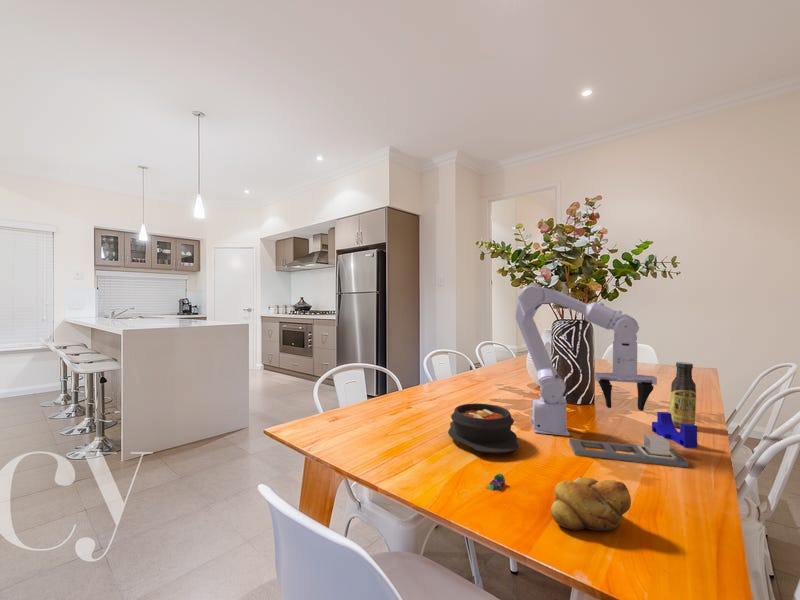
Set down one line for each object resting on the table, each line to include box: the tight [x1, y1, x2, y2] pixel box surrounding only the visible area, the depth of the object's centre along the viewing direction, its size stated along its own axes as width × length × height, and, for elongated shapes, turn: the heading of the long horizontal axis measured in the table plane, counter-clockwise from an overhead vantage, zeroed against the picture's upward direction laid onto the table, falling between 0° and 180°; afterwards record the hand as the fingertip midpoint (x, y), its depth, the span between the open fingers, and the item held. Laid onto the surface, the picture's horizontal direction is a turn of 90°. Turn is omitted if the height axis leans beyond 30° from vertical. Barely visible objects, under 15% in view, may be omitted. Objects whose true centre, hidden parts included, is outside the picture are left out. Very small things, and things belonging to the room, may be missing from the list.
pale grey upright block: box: [643, 433, 670, 457], centre depth 88 cm, size 4×4×5 cm
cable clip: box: [651, 411, 698, 449], centre depth 100 cm, size 12×4×6 cm, turn 174°
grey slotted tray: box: [568, 438, 689, 469], centre depth 90 cm, size 24×8×2 cm, turn 74°
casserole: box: [447, 403, 520, 454], centre depth 99 cm, size 25×19×8 cm
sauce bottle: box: [669, 361, 697, 429], centre depth 110 cm, size 6×6×20 cm
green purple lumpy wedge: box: [485, 473, 506, 492], centre depth 74 cm, size 4×3×2 cm, turn 143°
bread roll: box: [550, 476, 632, 532], centre depth 63 cm, size 13×10×8 cm
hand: (624, 408), depth 98 cm, fingers open, 7 cm apart
